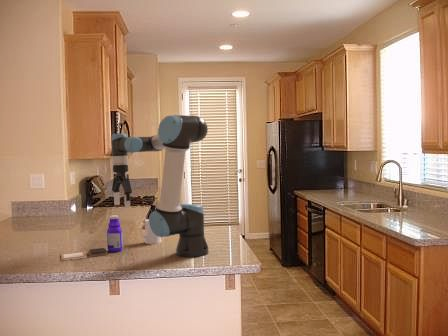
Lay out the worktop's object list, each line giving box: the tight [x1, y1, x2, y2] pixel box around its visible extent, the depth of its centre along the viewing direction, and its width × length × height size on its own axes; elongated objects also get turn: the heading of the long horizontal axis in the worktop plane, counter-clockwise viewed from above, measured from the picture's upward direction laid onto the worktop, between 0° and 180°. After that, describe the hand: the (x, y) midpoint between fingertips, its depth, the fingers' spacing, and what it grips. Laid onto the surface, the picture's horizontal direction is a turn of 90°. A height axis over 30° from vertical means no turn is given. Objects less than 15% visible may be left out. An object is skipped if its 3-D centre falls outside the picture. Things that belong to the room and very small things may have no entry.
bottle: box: [106, 214, 124, 253], centre depth 222 cm, size 7×6×17 cm
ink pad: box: [87, 247, 108, 258], centre depth 218 cm, size 9×8×2 cm
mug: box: [139, 218, 162, 245], centre depth 239 cm, size 12×8×12 cm
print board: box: [60, 251, 88, 261], centre depth 214 cm, size 11×11×1 cm
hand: (122, 206), depth 230 cm, fingers open, 13 cm apart
